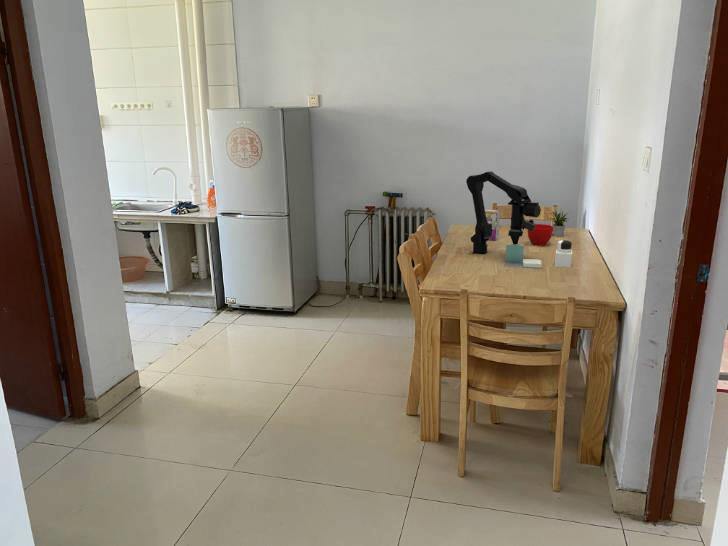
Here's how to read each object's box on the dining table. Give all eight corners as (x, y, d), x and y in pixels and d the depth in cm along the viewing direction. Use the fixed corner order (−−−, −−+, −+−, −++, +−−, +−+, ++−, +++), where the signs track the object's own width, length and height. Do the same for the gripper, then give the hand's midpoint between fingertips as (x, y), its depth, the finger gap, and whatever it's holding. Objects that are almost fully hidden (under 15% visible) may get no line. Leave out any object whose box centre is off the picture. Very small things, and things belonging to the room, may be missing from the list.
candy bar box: (476, 239, 321) (477, 210, 317) (479, 237, 325) (481, 208, 321) (495, 241, 315) (497, 211, 311) (498, 239, 319) (500, 210, 315)
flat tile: (523, 267, 261) (523, 263, 260) (522, 262, 268) (523, 258, 268) (541, 268, 259) (541, 264, 258) (540, 263, 266) (540, 259, 266)
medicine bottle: (570, 265, 266) (573, 239, 263) (570, 269, 260) (573, 243, 257) (554, 263, 269) (556, 238, 265) (554, 267, 262) (556, 242, 259)
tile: (505, 261, 272) (506, 244, 270) (505, 260, 274) (506, 243, 272) (522, 262, 270) (523, 245, 267) (522, 261, 271) (523, 244, 269)
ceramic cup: (561, 244, 307) (562, 225, 304) (540, 248, 298) (542, 229, 295) (541, 239, 317) (543, 222, 315) (521, 244, 308) (522, 225, 305)
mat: (503, 267, 263) (503, 266, 263) (506, 259, 278) (506, 258, 278) (539, 270, 258) (539, 269, 258) (540, 261, 273) (540, 260, 273)
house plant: (539, 236, 326) (541, 208, 321) (546, 232, 337) (549, 204, 332) (564, 239, 318) (567, 210, 313) (571, 234, 329) (574, 206, 324)
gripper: (534, 219, 258) (532, 252, 263) (536, 212, 275) (533, 243, 280) (509, 218, 262) (507, 251, 266) (512, 211, 279) (510, 242, 283)
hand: (515, 247), depth 273 cm, fingers closed
